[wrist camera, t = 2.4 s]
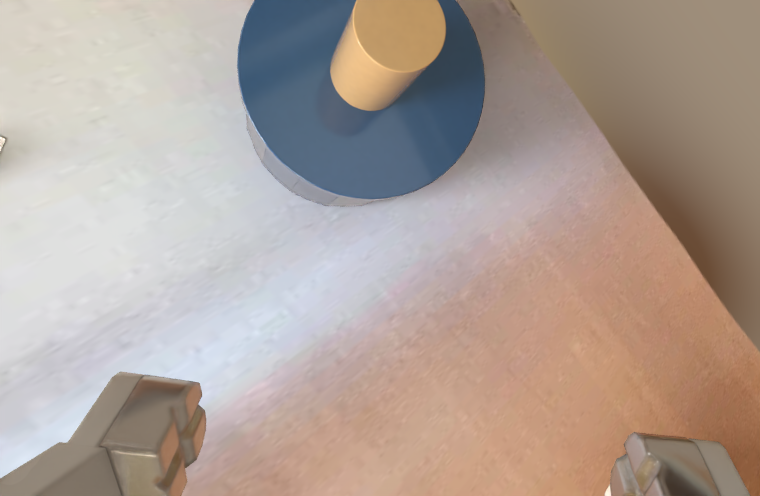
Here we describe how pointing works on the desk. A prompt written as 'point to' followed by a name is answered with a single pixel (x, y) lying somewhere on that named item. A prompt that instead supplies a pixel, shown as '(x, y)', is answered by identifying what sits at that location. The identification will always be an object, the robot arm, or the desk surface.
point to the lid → (362, 90)
